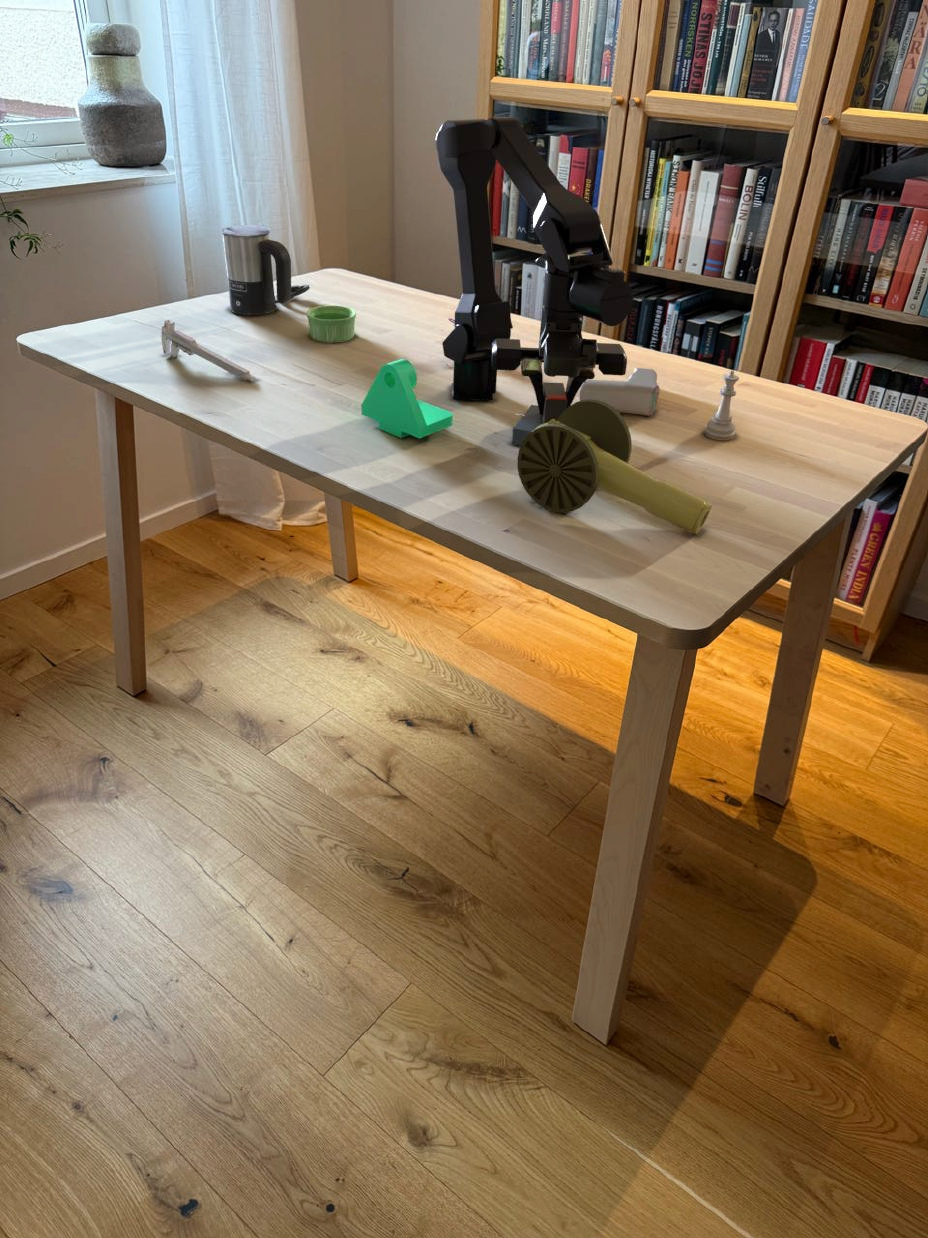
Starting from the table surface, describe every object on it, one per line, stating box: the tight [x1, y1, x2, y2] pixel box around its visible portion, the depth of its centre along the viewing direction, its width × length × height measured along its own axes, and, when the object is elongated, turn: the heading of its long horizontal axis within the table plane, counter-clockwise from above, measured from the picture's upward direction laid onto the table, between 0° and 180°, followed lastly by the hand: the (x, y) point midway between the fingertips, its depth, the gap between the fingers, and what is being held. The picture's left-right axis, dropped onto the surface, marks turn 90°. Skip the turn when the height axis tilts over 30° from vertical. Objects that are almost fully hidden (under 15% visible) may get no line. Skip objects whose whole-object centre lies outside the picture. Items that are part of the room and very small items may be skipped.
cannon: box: [516, 399, 713, 535], centre depth 118 cm, size 25×12×11 cm, turn 58°
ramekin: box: [305, 304, 357, 344], centre depth 173 cm, size 9×9×4 cm
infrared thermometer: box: [578, 367, 660, 416], centre depth 153 cm, size 5×12×15 cm
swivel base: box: [511, 404, 542, 447], centre depth 139 cm, size 13×11×3 cm
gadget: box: [541, 381, 567, 424], centre depth 137 cm, size 7×3×5 cm, turn 0°
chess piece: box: [704, 370, 740, 441], centre depth 140 cm, size 4×4×10 cm
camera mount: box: [360, 358, 454, 439], centre depth 138 cm, size 12×8×10 cm, turn 48°
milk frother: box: [220, 224, 311, 316], centre depth 184 cm, size 14×16×15 cm
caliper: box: [160, 319, 256, 382], centre depth 156 cm, size 20×1×6 cm, turn 57°
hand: (552, 414), depth 138 cm, fingers closed on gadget, 3 cm apart
